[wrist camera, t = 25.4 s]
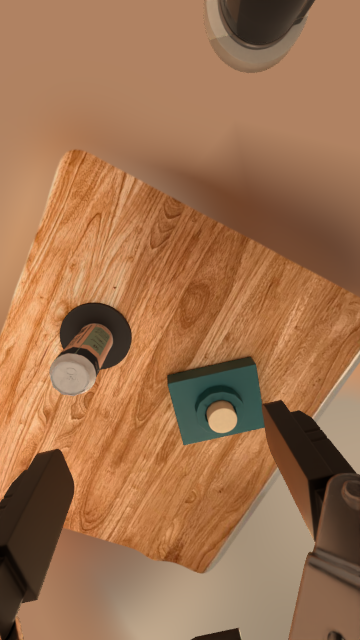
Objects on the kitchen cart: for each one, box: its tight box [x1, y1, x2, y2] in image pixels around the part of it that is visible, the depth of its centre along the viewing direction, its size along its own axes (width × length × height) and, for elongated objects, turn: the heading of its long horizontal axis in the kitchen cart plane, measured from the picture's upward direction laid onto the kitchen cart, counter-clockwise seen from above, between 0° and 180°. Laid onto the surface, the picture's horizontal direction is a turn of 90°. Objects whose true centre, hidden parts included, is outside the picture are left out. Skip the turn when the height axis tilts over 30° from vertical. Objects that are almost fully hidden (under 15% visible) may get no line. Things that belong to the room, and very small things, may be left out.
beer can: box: [50, 323, 113, 396], centre depth 35 cm, size 5×5×12 cm
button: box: [207, 400, 237, 433], centre depth 40 cm, size 4×4×2 cm
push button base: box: [167, 357, 265, 445], centre depth 43 cm, size 13×11×4 cm
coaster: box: [60, 303, 131, 369], centre depth 41 cm, size 10×10×1 cm
